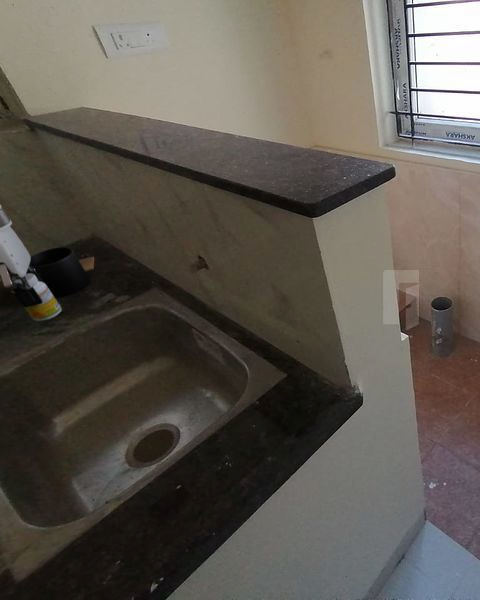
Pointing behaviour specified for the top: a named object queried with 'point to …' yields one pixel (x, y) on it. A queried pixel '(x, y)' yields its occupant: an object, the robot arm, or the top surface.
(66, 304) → the top surface
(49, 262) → the mug
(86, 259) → the cork trivet
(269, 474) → the top surface
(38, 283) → the supplement bottle
